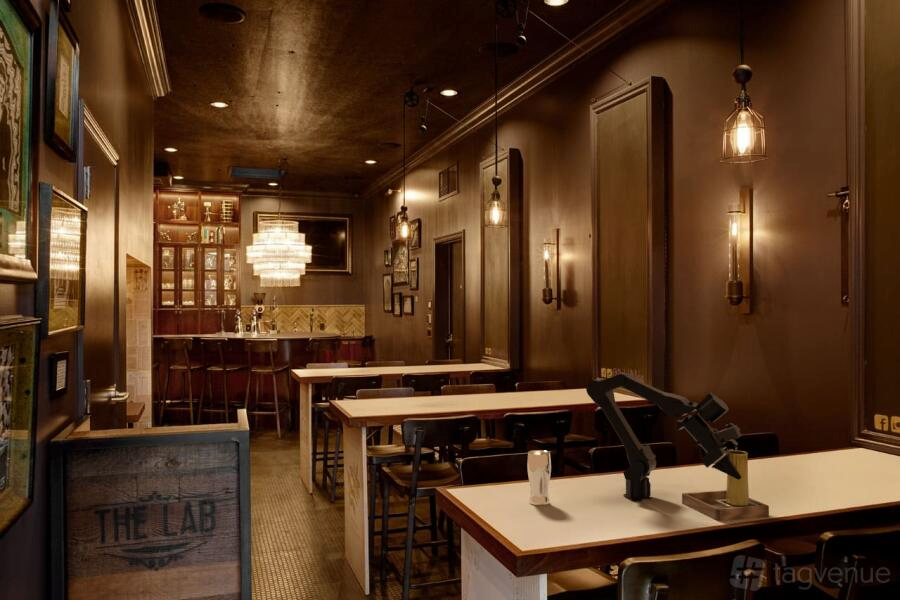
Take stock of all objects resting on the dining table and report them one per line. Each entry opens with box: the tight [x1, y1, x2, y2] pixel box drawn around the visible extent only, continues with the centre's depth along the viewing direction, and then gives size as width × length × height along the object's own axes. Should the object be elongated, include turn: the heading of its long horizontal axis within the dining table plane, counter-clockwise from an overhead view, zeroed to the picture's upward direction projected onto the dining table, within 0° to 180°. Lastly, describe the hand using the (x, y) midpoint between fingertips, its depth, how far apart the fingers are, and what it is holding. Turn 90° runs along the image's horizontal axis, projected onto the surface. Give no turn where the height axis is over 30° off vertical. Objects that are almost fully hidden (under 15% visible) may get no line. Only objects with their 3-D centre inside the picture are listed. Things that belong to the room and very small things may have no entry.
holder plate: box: [715, 499, 760, 509], centre depth 189 cm, size 9×9×2 cm
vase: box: [726, 449, 750, 506], centre depth 190 cm, size 6×6×14 cm
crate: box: [681, 489, 770, 522], centre depth 192 cm, size 16×17×4 cm
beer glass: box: [526, 449, 552, 507], centre depth 201 cm, size 7×7×15 cm
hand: (742, 476), depth 189 cm, fingers closed on vase, 5 cm apart
